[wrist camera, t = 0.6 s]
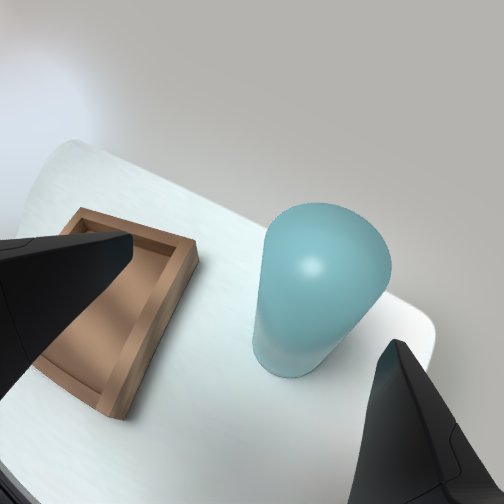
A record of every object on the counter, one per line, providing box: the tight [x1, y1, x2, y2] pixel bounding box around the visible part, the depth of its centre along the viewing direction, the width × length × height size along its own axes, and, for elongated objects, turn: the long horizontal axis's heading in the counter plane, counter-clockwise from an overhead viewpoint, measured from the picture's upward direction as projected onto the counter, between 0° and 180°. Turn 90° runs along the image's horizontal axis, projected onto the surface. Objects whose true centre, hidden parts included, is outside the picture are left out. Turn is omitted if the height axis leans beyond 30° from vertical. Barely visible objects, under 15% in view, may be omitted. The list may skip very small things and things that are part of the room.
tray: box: [32, 207, 199, 421], centre depth 22 cm, size 16×14×3 cm
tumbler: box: [253, 203, 392, 378], centre depth 18 cm, size 6×6×12 cm
